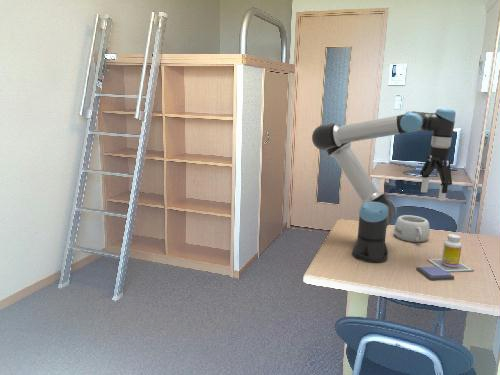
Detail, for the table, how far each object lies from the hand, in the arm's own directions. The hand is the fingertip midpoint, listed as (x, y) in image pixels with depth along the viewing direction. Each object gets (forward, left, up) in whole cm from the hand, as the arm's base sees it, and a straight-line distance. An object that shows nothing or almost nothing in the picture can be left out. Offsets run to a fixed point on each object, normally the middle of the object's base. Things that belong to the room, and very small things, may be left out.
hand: (432, 196), depth 182 cm
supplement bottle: (+6, -10, -28) cm, 30 cm away
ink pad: (-6, -18, -28) cm, 34 cm away
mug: (+8, +23, -28) cm, 37 cm away
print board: (+6, -10, -28) cm, 30 cm away
